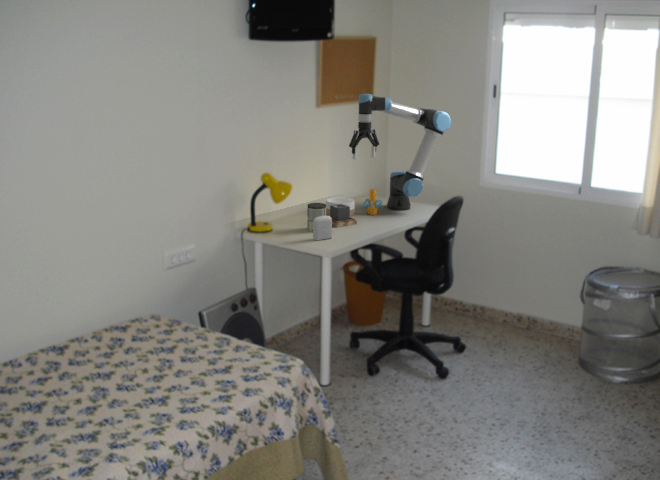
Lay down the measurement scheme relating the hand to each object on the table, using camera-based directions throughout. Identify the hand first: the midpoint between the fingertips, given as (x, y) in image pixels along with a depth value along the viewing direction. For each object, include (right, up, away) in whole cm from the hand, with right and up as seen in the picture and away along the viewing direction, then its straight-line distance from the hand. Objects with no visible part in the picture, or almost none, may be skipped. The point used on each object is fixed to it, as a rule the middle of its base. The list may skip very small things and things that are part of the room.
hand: (363, 158), depth 392 cm
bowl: (-14, -32, +16) cm, 38 cm away
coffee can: (-27, -42, -21) cm, 54 cm away
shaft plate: (-14, -38, -7) cm, 41 cm away
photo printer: (-24, -47, -39) cm, 65 cm away
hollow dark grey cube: (-14, -36, -7) cm, 39 cm away
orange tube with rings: (+6, -32, +16) cm, 36 cm away
